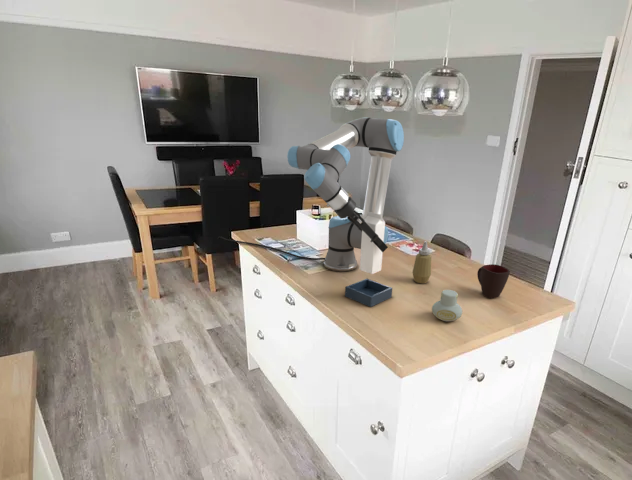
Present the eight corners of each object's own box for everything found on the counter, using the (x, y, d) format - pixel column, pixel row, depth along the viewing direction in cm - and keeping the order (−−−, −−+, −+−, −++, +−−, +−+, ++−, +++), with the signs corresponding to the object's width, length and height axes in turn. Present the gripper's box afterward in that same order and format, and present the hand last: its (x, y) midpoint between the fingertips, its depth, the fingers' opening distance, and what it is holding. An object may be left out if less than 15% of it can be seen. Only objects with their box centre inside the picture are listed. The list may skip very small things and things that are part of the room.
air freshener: (429, 320, 149) (433, 294, 145) (432, 310, 157) (435, 286, 153) (460, 325, 147) (465, 299, 143) (461, 315, 155) (465, 290, 151)
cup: (489, 302, 168) (495, 274, 163) (467, 288, 179) (472, 262, 174) (507, 298, 172) (513, 271, 167) (485, 286, 183) (490, 260, 178)
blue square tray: (344, 296, 163) (345, 286, 161) (366, 287, 172) (367, 278, 171) (370, 307, 156) (371, 297, 154) (391, 297, 165) (392, 287, 164)
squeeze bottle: (429, 285, 179) (434, 245, 171) (410, 283, 180) (415, 243, 173) (430, 279, 186) (435, 240, 179) (412, 276, 187) (417, 238, 180)
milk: (368, 266, 163) (372, 210, 154) (381, 270, 160) (386, 213, 151) (359, 270, 158) (362, 212, 149) (372, 274, 155) (376, 215, 146)
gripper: (325, 204, 153) (364, 244, 165) (342, 218, 135) (384, 262, 148) (340, 189, 153) (377, 231, 165) (359, 202, 135) (399, 247, 147)
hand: (380, 245), depth 156 cm, fingers closed on milk, 8 cm apart
